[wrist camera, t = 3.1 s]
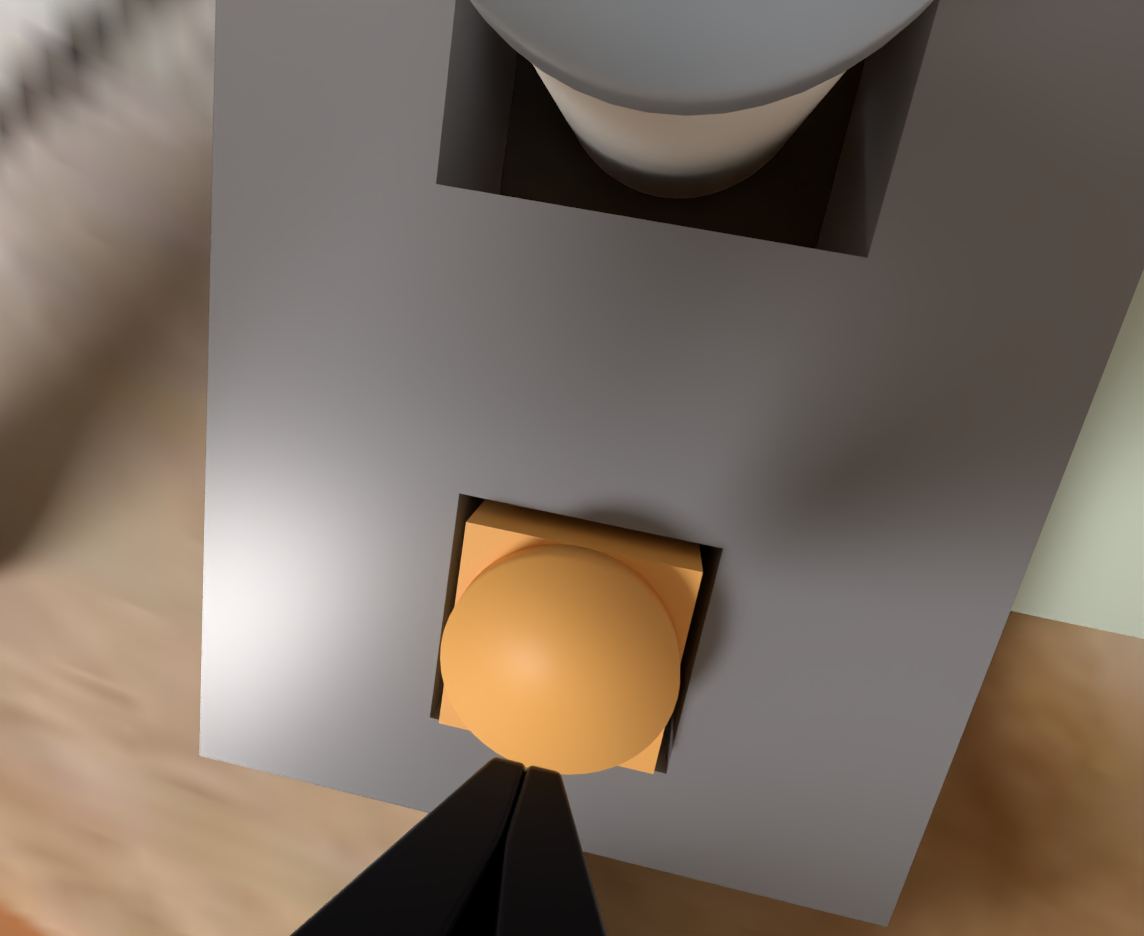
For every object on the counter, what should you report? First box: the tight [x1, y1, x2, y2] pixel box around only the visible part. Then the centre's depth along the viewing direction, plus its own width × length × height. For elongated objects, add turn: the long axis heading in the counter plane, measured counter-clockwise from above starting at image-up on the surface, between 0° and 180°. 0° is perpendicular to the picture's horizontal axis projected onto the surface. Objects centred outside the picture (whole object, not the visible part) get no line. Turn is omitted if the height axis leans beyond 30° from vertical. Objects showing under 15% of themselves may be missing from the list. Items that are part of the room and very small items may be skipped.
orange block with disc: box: [439, 499, 703, 775], centre depth 13 cm, size 4×4×5 cm
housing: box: [199, 0, 1144, 927], centre depth 13 cm, size 20×14×4 cm
